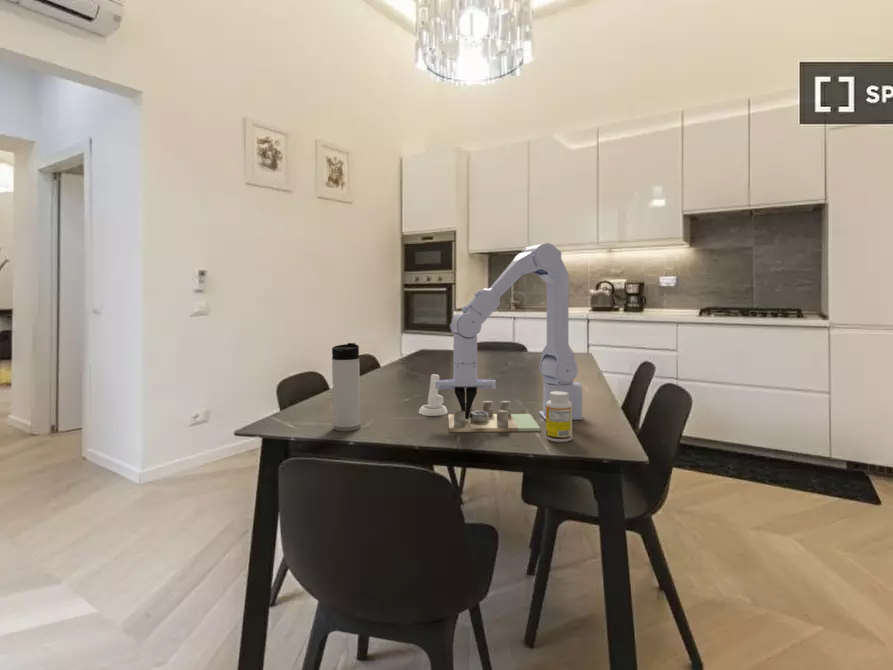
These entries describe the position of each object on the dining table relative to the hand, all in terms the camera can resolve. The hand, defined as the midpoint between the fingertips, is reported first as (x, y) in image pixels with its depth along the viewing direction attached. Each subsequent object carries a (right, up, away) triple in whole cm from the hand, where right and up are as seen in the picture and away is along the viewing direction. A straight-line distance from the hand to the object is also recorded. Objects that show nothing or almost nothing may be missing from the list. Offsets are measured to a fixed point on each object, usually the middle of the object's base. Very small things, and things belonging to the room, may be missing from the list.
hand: (465, 418), depth 128 cm
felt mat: (+14, -1, 0) cm, 14 cm away
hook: (-8, -1, +13) cm, 15 cm away
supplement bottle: (+20, -3, -13) cm, 24 cm away
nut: (+3, -1, 0) cm, 3 cm away
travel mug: (-28, -2, -3) cm, 28 cm away
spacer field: (+4, -1, 0) cm, 4 cm away
